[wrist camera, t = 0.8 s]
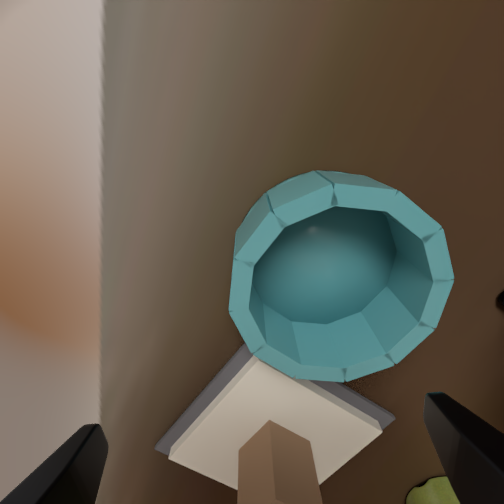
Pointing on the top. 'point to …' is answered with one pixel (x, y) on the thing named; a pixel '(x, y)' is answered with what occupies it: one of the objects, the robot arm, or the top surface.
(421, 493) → the plant pot
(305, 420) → the lid
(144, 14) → the top surface
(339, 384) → the mat
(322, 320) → the bowl
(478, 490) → the robot arm
